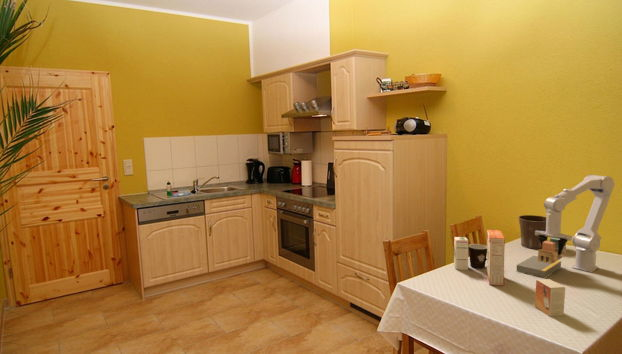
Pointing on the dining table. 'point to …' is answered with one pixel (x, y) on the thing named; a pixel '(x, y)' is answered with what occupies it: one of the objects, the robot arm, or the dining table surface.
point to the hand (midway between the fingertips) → (552, 253)
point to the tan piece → (550, 255)
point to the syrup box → (461, 253)
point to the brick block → (549, 246)
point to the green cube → (555, 241)
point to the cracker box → (495, 257)
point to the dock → (537, 267)
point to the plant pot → (531, 230)
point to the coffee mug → (477, 255)
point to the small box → (550, 297)
